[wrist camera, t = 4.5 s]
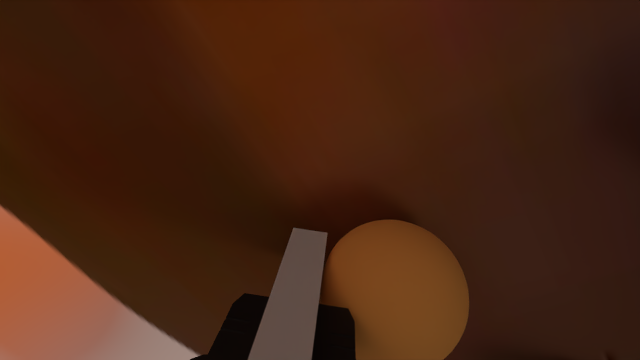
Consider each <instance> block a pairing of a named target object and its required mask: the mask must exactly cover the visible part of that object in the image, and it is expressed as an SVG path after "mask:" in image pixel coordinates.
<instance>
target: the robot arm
mask: <svg viewBox="0 0 640 360" xmlns="http://www.w3.org/2000/svg"><path fill="white" fill-rule="evenodd" d="M326 241H327V233H326V232H319V231H312V230H305V229H298V228H293V230H292V233H291V236H290V239H289V242H288V245H287V248H286V251H285V254H284V256H283V259H282V262H281V265H280V268H279V271H278V274H277V277H276V279H275V282H274V285H273V288H272V291H271V294H270V297H266V296H259V295H253V294H246V293H244V294H243V295H242V296H241V297H240V298H239V299H237V300H236V301H235V302H234V303H233V304H232V306H231V309H230V311H229V313H228V315H227V317H226V320H225V321H224V323H223V325H222V327H221V330H220V331H219V333H218V335H217V337H216V339H215V341H214V343H213V345H212V347H211V349H210V351H209V353H208V355H201V356H198V357H195V358H192V359H190V360H356V352H355V321H354V319H353V317H352V315H351V313H350V311H349V309H348V308H343V307H336V306H330V305H324V304H319V296H320V288H321V280H322V272H323V265H324V257H325V249H326Z"/></svg>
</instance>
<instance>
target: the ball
mask: <svg viewBox="0 0 640 360" xmlns="http://www.w3.org/2000/svg"><path fill="white" fill-rule="evenodd" d="M320 295H321V304H324V305H330V306H336V307H343V308H348V309H349V311H350V313H351V315H352V317H353V319H354V321H355V352H356V360H443V359H444V358H445V357H446V356H447V355H449V354H450V353H451V352H452V350H453V349H454V348H455V346H456V345H457V344H458V342H459V340H460V338H461V336H462V334H463V332H464V330H465V327H466V323H467V320H468V313H469V292H468V287H467V282H466V279H465V276H464V273H463V271H462V269H461V267H460V265H459V263H458V261H457V259H456V258H455V256H454V255H453V253H452V252H451V251H450V249H449V248H448V247H447V246H446V245H445V244H444V243H443V242H442V241H441V240H440V239H439V238H438V237H436V236H435V235H434V234H432V233H431V232H429V231H427V230H426V229H424V228H422V227H420V226H417V225H415V224H412V223H409V222H405V221H401V220H377V221H372V222H369V223H365V224H363V225H360V226H358V227H356V228H355V229H353V230H351V231H350V232H348V233H347V234H346V235H345V236H344V237H342V238H341V239H340V240H339V241H338V243H337V244H336V245H335V246H334V248H333V249H332V251H331V252H330V254H329V256H328V258H327V260H326V263H325V265H324V268H323V272H322V280H321V288H320Z"/></svg>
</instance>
